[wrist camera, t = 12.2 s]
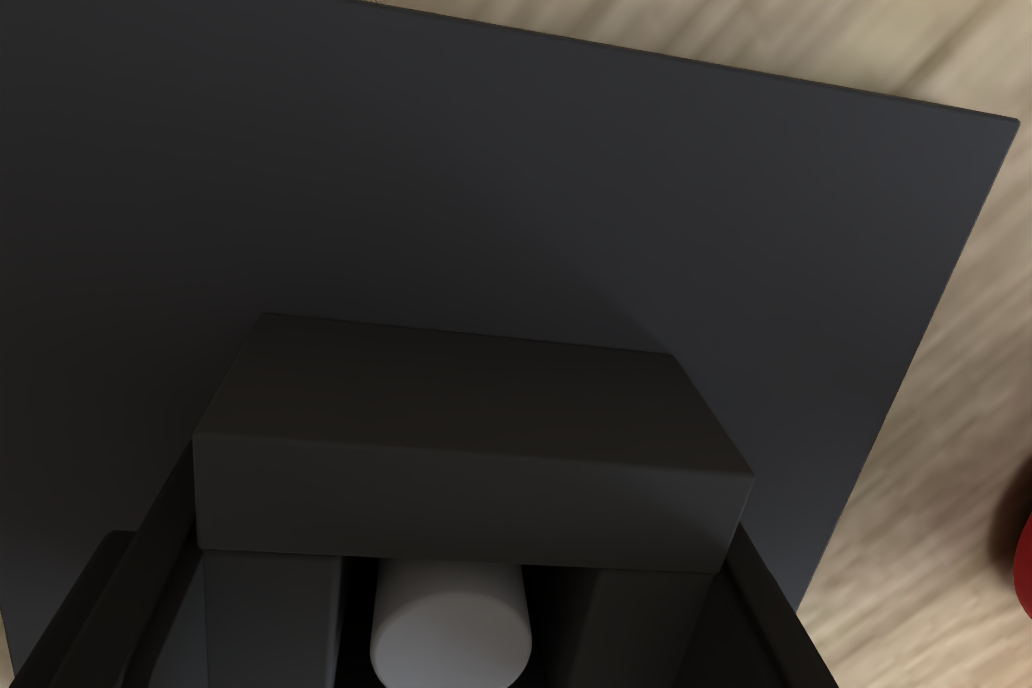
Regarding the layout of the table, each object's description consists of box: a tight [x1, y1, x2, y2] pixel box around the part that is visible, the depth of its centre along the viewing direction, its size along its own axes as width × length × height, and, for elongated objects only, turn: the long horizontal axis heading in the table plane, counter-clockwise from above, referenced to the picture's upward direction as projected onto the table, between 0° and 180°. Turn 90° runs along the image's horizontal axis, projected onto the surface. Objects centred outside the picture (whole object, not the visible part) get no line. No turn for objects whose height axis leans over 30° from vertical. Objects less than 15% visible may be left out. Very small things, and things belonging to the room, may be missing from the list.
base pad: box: [0, 0, 1020, 688], centre depth 10 cm, size 14×14×4 cm
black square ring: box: [192, 313, 755, 688], centre depth 10 cm, size 6×6×3 cm
